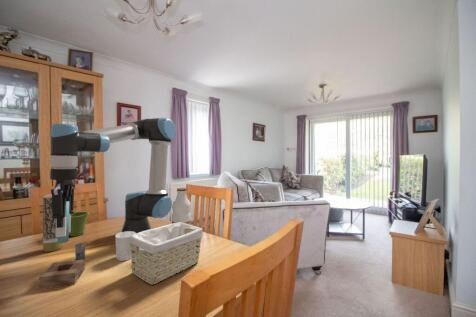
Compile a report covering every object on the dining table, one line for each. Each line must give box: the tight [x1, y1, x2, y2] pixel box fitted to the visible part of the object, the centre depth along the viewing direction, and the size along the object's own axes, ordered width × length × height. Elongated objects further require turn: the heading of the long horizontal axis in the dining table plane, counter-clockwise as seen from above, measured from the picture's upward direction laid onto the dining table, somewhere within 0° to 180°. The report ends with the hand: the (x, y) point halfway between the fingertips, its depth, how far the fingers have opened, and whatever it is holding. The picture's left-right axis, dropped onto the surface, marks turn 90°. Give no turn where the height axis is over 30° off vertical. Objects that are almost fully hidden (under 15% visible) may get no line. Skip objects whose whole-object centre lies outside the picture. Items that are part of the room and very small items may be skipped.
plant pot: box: [69, 211, 90, 238], centre depth 121 cm, size 12×12×11 cm
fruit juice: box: [171, 187, 192, 235], centre depth 111 cm, size 9×9×28 cm
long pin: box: [57, 201, 70, 244], centre depth 78 cm, size 3×3×14 cm
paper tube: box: [42, 193, 63, 253], centre depth 102 cm, size 7×7×25 cm
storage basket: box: [130, 222, 203, 286], centre depth 87 cm, size 24×16×15 cm
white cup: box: [114, 231, 136, 262], centre depth 96 cm, size 8×8×10 cm
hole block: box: [38, 258, 86, 290], centre depth 79 cm, size 10×10×4 cm
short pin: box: [74, 242, 86, 261], centre depth 91 cm, size 3×3×7 cm
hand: (63, 234), depth 78 cm, fingers closed on long pin, 3 cm apart
